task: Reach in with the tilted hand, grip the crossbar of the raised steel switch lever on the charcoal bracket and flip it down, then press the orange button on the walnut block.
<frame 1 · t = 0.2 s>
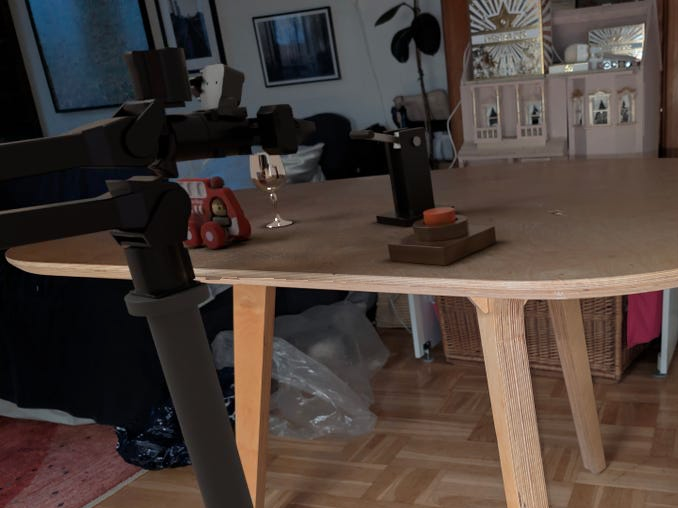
hand: (293, 128, 101), 16 cm above the table, tool horizontal, fingers open, 9 cm apart
button: (439, 217, 89), point 4 cm above the table, slide at 0.1 cm
toy fire truck: (220, 244, 112), on the table
button block: (444, 251, 91), on the table
lever: (386, 138, 107), point 13 cm above the table, hinge at 15.0°
wineglass: (279, 225, 122), on the table
bracket: (416, 218, 114), on the table
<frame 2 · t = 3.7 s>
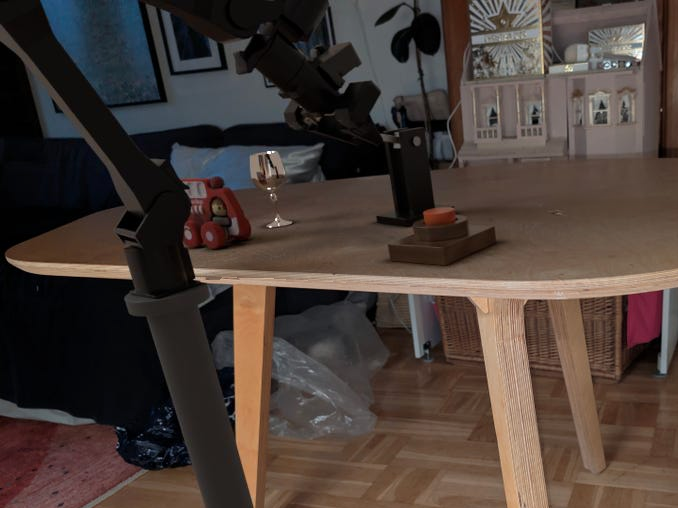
hand: (371, 143, 105), 13 cm above the table, tool tilted 45°, fingers closed on lever, 5 cm apart
lever: (386, 138, 107), point 13 cm above the table, hinge at 15.0°, touching gripper
everything else where it was.
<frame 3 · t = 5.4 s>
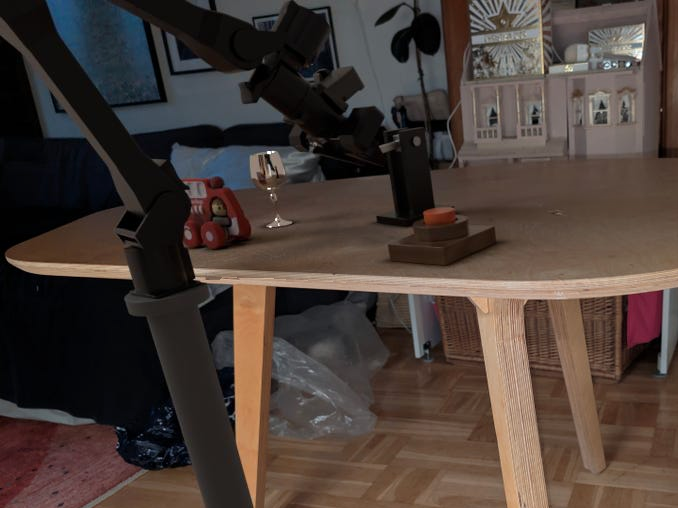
hand: (375, 163, 106), 10 cm above the table, tool tilted 45°, fingers closed on lever, 5 cm apart
lever: (387, 147, 107), point 12 cm above the table, hinge at -6.4°, touching gripper
everything else where it was.
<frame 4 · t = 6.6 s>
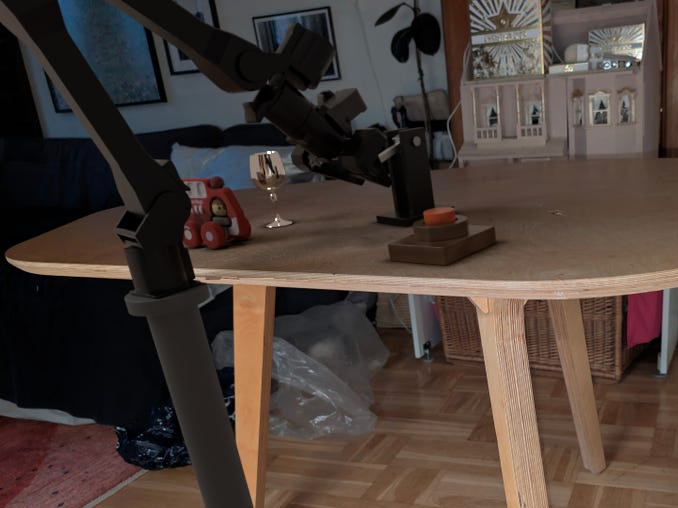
hand: (376, 184, 107), 7 cm above the table, tool tilted 45°, fingers open, 7 cm apart
lever: (388, 152, 108), point 11 cm above the table, hinge at -19.2°
everything else where it was.
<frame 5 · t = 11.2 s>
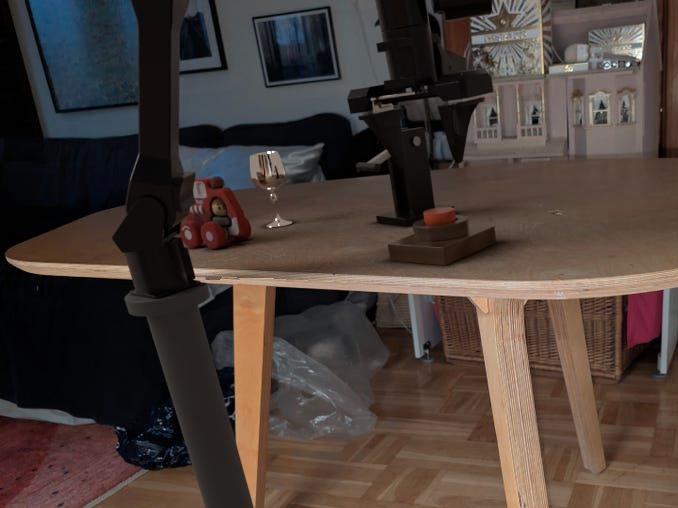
hand: (430, 165, 88), 11 cm above the table, tool pointing down, fingers open, 9 cm apart
nothing on the table moved.
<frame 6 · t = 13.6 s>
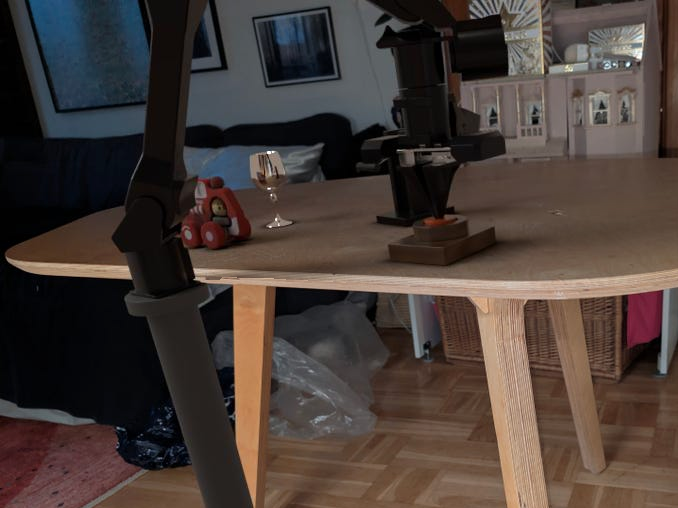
hand: (439, 218, 89), 4 cm above the table, tool pointing down, fingers closed, pressing on button
button: (440, 224, 89), point 3 cm above the table, slide at -0.9 cm, touching gripper
everything else where it was.
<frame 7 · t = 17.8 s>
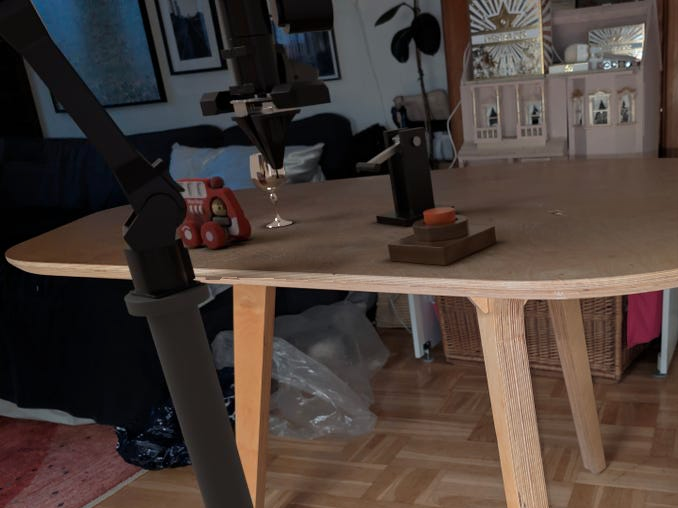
hand: (277, 169, 91), 12 cm above the table, tool pointing down, fingers closed
button: (439, 217, 89), point 4 cm above the table, slide at 0.1 cm
everything else where it was.
at the end: lever at -19° (first picture: +15°); button pushed in 1.1 cm at the most during the clip, back to where it started at the end; button slide at 0.1 cm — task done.
